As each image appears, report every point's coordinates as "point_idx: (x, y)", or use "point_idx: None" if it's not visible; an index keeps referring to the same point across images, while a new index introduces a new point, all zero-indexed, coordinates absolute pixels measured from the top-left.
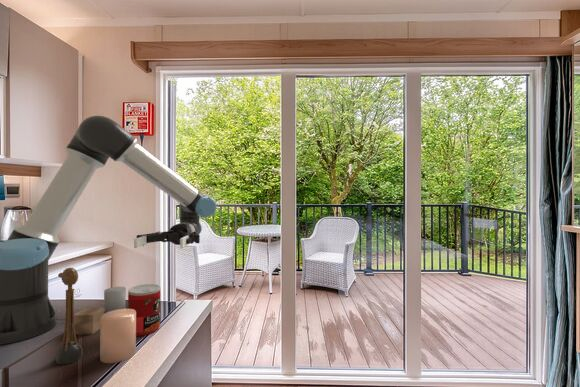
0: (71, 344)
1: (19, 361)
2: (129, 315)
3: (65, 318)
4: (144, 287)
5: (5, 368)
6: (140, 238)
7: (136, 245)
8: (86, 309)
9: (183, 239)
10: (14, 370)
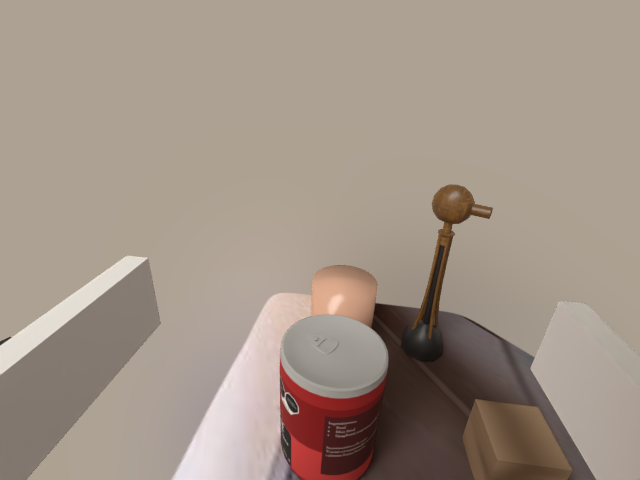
0: (419, 321)
1: (503, 351)
2: (321, 276)
3: (441, 283)
4: (344, 371)
5: (501, 337)
6: (612, 370)
7: (540, 352)
8: (547, 449)
9: (113, 275)
10: (479, 331)
